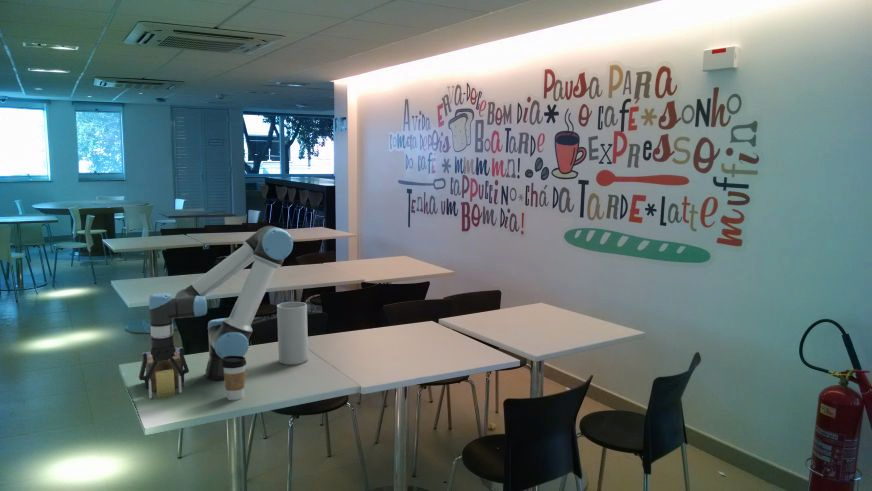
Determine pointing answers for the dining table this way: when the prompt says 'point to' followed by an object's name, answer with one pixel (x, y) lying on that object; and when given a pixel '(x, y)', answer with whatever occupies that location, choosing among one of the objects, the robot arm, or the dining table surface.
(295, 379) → the dining table surface
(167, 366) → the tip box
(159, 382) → the rectangular block
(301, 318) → the cylinder vase
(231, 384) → the coffee cup
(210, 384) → the dining table surface
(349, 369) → the dining table surface
